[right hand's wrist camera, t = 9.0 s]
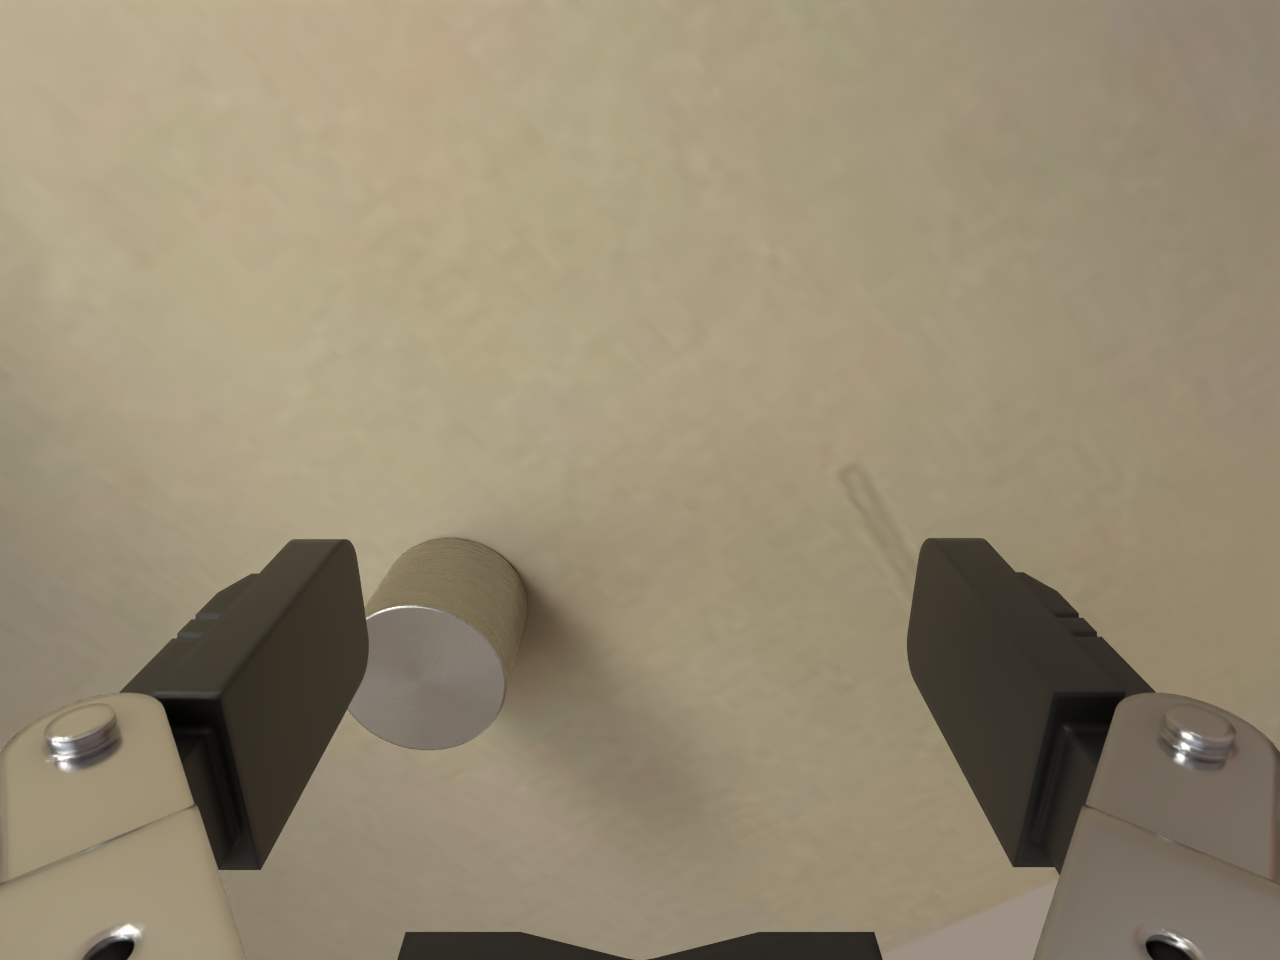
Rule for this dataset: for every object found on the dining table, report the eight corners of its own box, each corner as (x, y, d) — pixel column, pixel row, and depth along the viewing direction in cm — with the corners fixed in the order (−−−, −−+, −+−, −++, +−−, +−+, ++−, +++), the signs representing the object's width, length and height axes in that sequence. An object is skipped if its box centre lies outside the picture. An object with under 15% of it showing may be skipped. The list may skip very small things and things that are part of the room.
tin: (525, 670, 26) (503, 757, 22) (385, 658, 26) (337, 744, 22) (531, 543, 25) (508, 613, 21) (382, 531, 25) (330, 599, 21)
